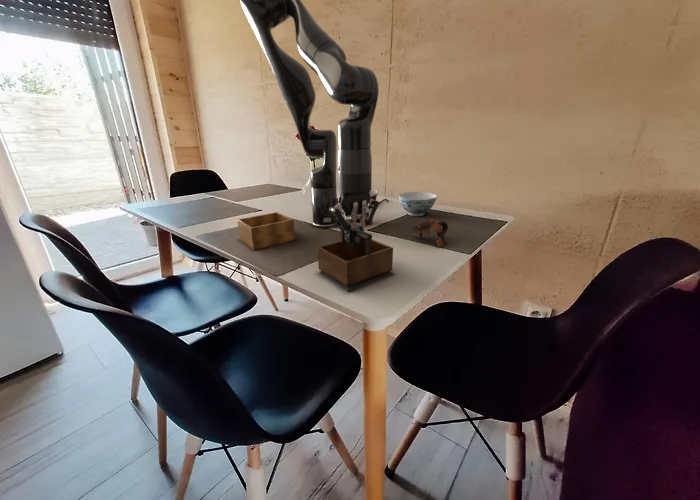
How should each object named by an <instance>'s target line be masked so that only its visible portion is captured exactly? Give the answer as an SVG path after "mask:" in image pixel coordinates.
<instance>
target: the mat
mask: <svg viewBox="0 0 700 500" xmlns="http://www.w3.org/2000/svg"><path fill="white" fill-rule="evenodd" d="M319 274H320V275H321V276H323V277H324V278H325V279H327V280H329V281H330V282H331V283H333V284H334V285H336V286H338V287H339V288H341V289H342V290H344V291H346V292H347V293H350V292H352V291H354V290H358V289H360V288H362V287H365V286H367V285H370V284H372V283H375V282H377V281H380V280H383V279H385V278H388V277H389V276H392V275H393V274H394V273H393V271H392V270H391V271H389V272H386V273H383V274H381V275H378V276H375V277H373V278H370V279H367V280H365V281H362V282H360V283H357V284H354V285H352V286H349V287H346V286H344V285H343V284H341V283H340V282H338V281H336V280H335V279H333V278H332V277H330V276H329V275H327V274H326V273H324V272H322V271H321V270H319Z"/></svg>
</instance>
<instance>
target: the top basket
mask: <svg viewBox="0 0 700 500" xmlns="http://www.w3.org/2000/svg"><path fill="white" fill-rule="evenodd" d="M338 228H339V230H340V240H338V241H334V242H331V243H328V244H324V245H320V246H317V263H318V265H317V266H318V270H319V271H322V272H324V273H326V274H327V275H329V276H330V277H332V278H333V279H335V280H336V281H338V282H340V283H341V284H343V285H344V286H346V287H349V286H352V285H354V284H357V283H360V282H362V281H365V280H367V279H370V278H373V277H375V276H378V275H381V274H383V273H386V272H389V271H391V272H392V271H393V263H394V261H393V259H394V247H393V246H390V245H388V244H385V243H382V242H380V241H378V240H375V239H373V234H371V233H368V232H366V231H365V230H364V231H361V230H358V229H356V228H355V236H358V237H360V238H362V239H363V242H362V243H357V242H355V245H353V246H352V245H350V244H348V242H347V241H346V230H345V229H342V228H340V227H339V226H338Z"/></svg>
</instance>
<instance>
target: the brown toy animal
mask: <svg viewBox="0 0 700 500" xmlns="http://www.w3.org/2000/svg"><path fill="white" fill-rule="evenodd" d="M431 229H432V230H433V231H434V232H435V233H436V235H437V237H438V239H436V240H435V244H436V246H437V248H440V247H442V246H443V245H445V244H446V238H445V237H446V236H445V234H447V232H448V229H449V224H448V223H447V222H446V221H445V220H440V221H438V222H436V221H435V219H433V218H432V219H428V220H425V221H423V222H421V223H420V224H419V226H418V225H416V226H415V227H413V228H412V231H413V233H412V235H413V238H415V237H417V238H418V239H421V238H422V237H423V234H426V235H430V234H431V231H430V230H431Z"/></svg>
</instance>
